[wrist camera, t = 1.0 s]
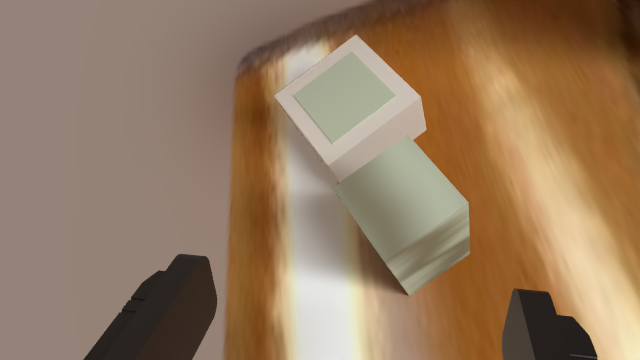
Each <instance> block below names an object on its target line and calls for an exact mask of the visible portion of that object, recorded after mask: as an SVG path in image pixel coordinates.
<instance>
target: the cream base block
mask: <svg viewBox="0 0 640 360" xmlns="http://www.w3.org/2000/svg"><path fill="white" fill-rule="evenodd" d="M274 97H275V98H276V100H277V101H278V102H279V104H280V105H281V107H282V108H283V110H284V111H285V113H286V114H287V115H288V117H289V118H290V120H291V121H292V123H293V124H294V126H295V127H296V128H297V129H298V131H299V132H300V133H301V135H302V136H303V137H304V139H305V140H306V141H307V142H308V144H309V145H310V146H311V148H312V149H313V150H314V152H315V153H316V154H317V155H318V157H319V158H320V159H321V161H322V162H323V163H324V164H325V166H326V167H327V168H328V170H329V171H330V172H331V174H332V175H333V176H334V177H335V179H336V180H337V181H338V183H340V182H341V181H342V180H344V179H345V178H347V177H348V176H349V175H351V174H352V173H354V172H355V171H357V170H358V169H359V168H361V167H362V166H364V165H365V164H366V163H368V162H369V161H371V160H372V159H373V158H375V157H376V156H378V155H379V154H381V153H382V152H383V151H385V150H386V149H388V148H389V147H390V146H392V145H393V144H395V143H396V142H397V141H399V140H400V139H402V138H403V137H405V136H406V135H407V134H408V135H409V137H410V138H411V139H412V140H414V139H415V138H416V137H418V136H419V135H420V134H422V133H423V132H424V131H426V124H425V118H424V113H423V107H422V101H421V97H420V96H419V95H418V94H417V93H416V92H415V91H414V90H413V89H412V88H411V87H410V86H409V85H408V84H407V83H406V82H405V81H404V80H403V79H402V78H401V77H400V76H399V75H398V74H397V73H396V72H394V71H393V70H392V69H391V68H390V67H389V66H388V65H387V64H386V63H385V62H384V61H383V60H382V59H381V58H380V57H379V56H378V55H377V54H376V53H375V52H374V51H373V50H372V49H371V48H370V47H369V46H367V45H366V44H365V43H364V42H363V41H362V40H361V39H360V38H359V37H358V36H357V35H355V36H353V37H352V38H351V39H349V40H348V41H347V42H345V43H344V44H343V45H341V46H340V47H339V48H337V49H336V50H335V51H333V52H332V53H330V54H329V55H328V56H326V57H325V58H324V59H322V60H321V61H320V62H318V63H317V64H316V65H314V66H313V67H312V68H310V69H309V70H308V71H306V72H305V73H304V74H302V75H301V76H300V77H298V78H297V79H296V80H294V81H293V82H292V83H290V84H289V85H288V86H286V87H285V88H284V89H282V90H281V91H280V92H278V93H277V94H276V95H274Z"/></svg>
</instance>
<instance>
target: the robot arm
mask: <svg viewBox="0 0 640 360" xmlns="http://www.w3.org/2000/svg"><path fill="white" fill-rule="evenodd" d="M216 307H217V295H216V290H215V286H214V281H213V276H212V272H211V268H210V263H209V260H208V258H207V257H205V256H197V255H187V254H179V255H177V256H176V257H175V259H174V260H173V261H172V263H171V264H170V266H169V267H168V268H167V270H166V271H158V272H156V273H155V274H154V275H152V276H151V277H149V278H148V279H147V280H145V281H144V282H143V283H142V284H141V285H140V286H139V288H138V289H137V291H136V292H135V293H134V294H133V296H132V297H131V300H129V301H128V302H127V303H126V305H125V306H124V308H123V309H122V312H121V313H119V314H118V316H117V317H116V318H115V319H114V320H113V322H112V323H111V324H110V326H109V327H108V328H107V330H106V331H105V332H104V334H103V335H102V336H101V337H100V339H99V340H98V342H97V343H96V344H95V345H94V347H93V348H92V349H91V351H90V352H89V353H88V355H87V356H86V357H85V358H84V360H192V359H193V357H194V355H195V353H196V351H197V349H198V347H199V345H200V343H201V341H202V340H203V338H204V336H205V334H206V332H207V330H208V328H209V326H210V324H211V322H212V320H213V318H214V316H215V312H216ZM502 353H503V360H597V354H596V351H595V349H594V346H593V344H592V341H591V339H590V336H589V335H588V334H587V332H586V331H585V330H584V329H583V328H582V327H581V326H580V325H579V323H578V322H577V321H576V320H575V319H574V318H573V317H570V316H561V315H557V314H556V311H555V308H554V305H553V302H552V299H551V296H550V294H549V293H548V292H545V291H535V290H525V289H514V290H513V292H512V295H511V300H510V304H509V308H508V313H507V317H506V321H505V325H504V330H503V337H502Z"/></svg>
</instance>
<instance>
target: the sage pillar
mask: <svg viewBox="0 0 640 360" xmlns="http://www.w3.org/2000/svg"><path fill="white" fill-rule="evenodd" d="M333 190H334V191H335V193H336V194H337V196H338V197H339V198H340V200H341V201H342V203H343V204H344V205H345V207H346V208H347V210H348V211H349V213H350V214H351V215H352V217H353V218H354V220H355V221H356V223H357V224H358V225H359V227H360V228H361V230H362V231H363V232H364V234H365V235H366V237H367V238H368V240H369V241H370V242H371V244H372V245H373V247H374V248H375V249H376V251H377V252H378V254H379V255H380V257H381V258H382V259H383V261H384V262H385V264H386V265H387V266H388V268H389V269H390V270H391V272H392V273H393V274H394V276H395V277H396V278H397V280H398V281H399V283H400V284H401V285H402V287H403V288H404V289H405V291H406V292H407V293H408V295H409V296H411V295H412V294H414V293H415V292H416V291H418V290H419V289H421V288H422V287H424V286H425V285H426V284H428V283H429V282H431V281H432V280H434V279H435V278H436V277H438V276H439V275H441V274H442V273H444V272H445V271H446V270H448V269H449V268H451V267H452V266H453V265H455V264H456V263H458V262H459V261H461V260H462V259H463V258H465V257H466V256H468V255H469V254H470V239H469V203H468V202H467V200H466V199H465V198H464V197H463V196H462V195H461V194H460V193H459V192H458V190H457V189H456V188H455V187H454V186H453V185H452V184H451V183H450V181H449V180H448V179H447V178H446V177H445V176H444V175H443V174H442V172H441V171H440V170H439V169H438V168H437V167H436V166H435V165H434V163H433V162H432V161H431V160H430V159H429V158H428V157H427V156H426V155H425V153H424V152H423V151H422V150H421V149H420V148H419V147H418V146H417V144H416V143H415V142H414V141H413V140H412V139H411V138H410V137H409V135H408V134H407V135H406V136H405V137H403V138H402V139H400V140H399V141H397V142H396V143H395V144H393V145H392V146H390V147H389V148H388V149H386V150H385V151H383V152H382V153H381V154H379V155H378V156H376V157H375V158H373V159H372V160H371V161H369V162H368V163H366V164H365V165H364V166H362V167H361V168H359V169H358V170H357V171H355V172H354V173H352V174H351V175H349V176H348V177H347V178H345V179H344V180H342V181H341V182H340V183H338V184H337V185H335V186H334V187H333Z"/></svg>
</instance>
